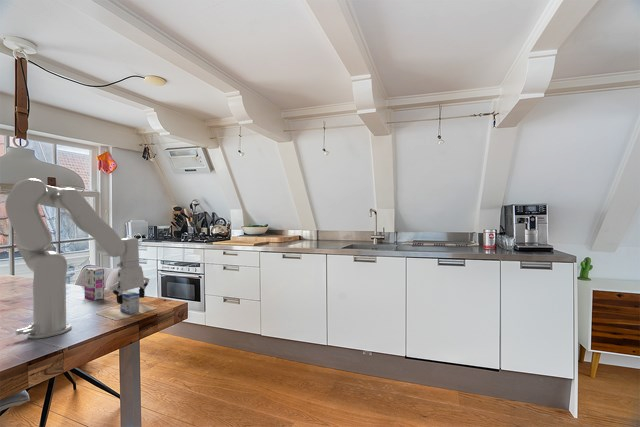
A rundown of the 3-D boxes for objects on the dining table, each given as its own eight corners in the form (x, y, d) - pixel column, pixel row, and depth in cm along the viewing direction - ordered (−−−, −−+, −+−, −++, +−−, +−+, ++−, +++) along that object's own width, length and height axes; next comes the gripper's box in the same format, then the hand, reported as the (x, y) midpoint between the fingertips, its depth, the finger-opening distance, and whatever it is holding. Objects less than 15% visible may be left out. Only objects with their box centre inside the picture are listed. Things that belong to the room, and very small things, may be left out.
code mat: (116, 320, 128) (116, 320, 128) (96, 314, 136) (96, 313, 136) (157, 308, 143) (157, 308, 143) (136, 303, 152) (136, 302, 152)
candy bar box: (104, 298, 161) (104, 268, 161) (94, 301, 157) (93, 270, 157) (94, 295, 167) (94, 266, 167) (84, 298, 162) (83, 268, 162)
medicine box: (120, 311, 139) (119, 293, 139) (129, 309, 143) (129, 291, 143) (129, 314, 135) (129, 295, 135) (139, 311, 139) (139, 293, 139)
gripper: (113, 268, 129) (115, 307, 130) (152, 261, 144) (154, 296, 145) (104, 267, 133) (106, 304, 134) (143, 260, 148) (145, 294, 149)
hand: (131, 300), depth 139 cm, fingers open, 9 cm apart
